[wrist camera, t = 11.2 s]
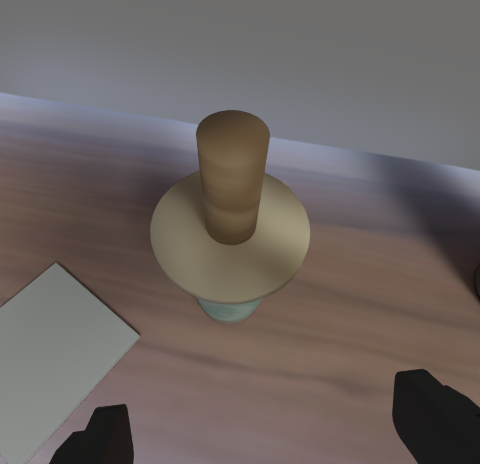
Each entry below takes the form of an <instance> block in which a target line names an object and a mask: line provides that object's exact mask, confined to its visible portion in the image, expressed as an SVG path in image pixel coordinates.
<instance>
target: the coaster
mask: <svg viewBox="0 0 480 464" xmlns="http://www.w3.org/2000/svg"><path fill="white" fill-rule="evenodd" d="M140 337H141V336H140V335H138V334H137V333H136V332H135V331H134V330H133V329H132V328H130V327H129V326H128V325H127V324H126V323H125V322H124V321H122V320H121V319H120V318H119V317H118V316H117V315H116V314H114V313H113V312H112V311H111V310H110V309H109V308H108V307H106V306H105V305H104V304H103V303H102V302H101V301H100V300H98V299H97V298H96V297H95V296H94V295H93V294H92V293H90V292H89V291H88V290H87V289H86V288H85V287H83V286H82V285H81V284H80V283H79V282H78V281H77V280H75V279H74V278H73V277H72V276H71V275H70V274H69V273H67V272H66V271H65V270H64V269H63V268H62V267H61V266H59V265H58V264H57V263H55V264H53V265H52V266H51V267H50V268H48V269H47V270H46V271H45V272H44V273H42V274H41V275H40V276H39V277H37V278H36V279H35V280H34V281H33V282H31V283H30V284H29V285H28V286H27V287H25V288H24V289H23V290H22V291H20V292H19V293H18V294H17V295H16V296H14V297H13V298H12V299H11V300H9V301H8V302H7V303H6V304H5V305H3V306H2V307H1V308H0V454H1V455H2V457H3V458H4V459H5V461H6V462H7V463H8V464H26V463H27V462H28V461H29V460H30V459H31V458H32V457H33V455H34V454H35V453H36V452H37V451H38V450H39V449H40V448H41V447H42V445H43V444H44V443H45V442H46V441H47V440H48V439H49V438H50V437H51V435H52V434H53V433H54V432H55V431H56V430H57V429H58V428H59V427H60V425H61V424H62V423H63V422H64V421H65V420H66V419H67V418H68V417H69V415H70V414H71V413H72V412H73V411H74V410H75V409H76V408H77V407H78V406H79V404H80V403H81V402H82V401H83V400H84V399H85V398H86V397H87V396H88V394H89V393H90V392H91V391H92V390H93V389H94V388H95V387H96V386H97V384H98V383H99V382H100V381H101V380H102V379H103V378H104V377H105V376H106V374H107V373H108V372H109V371H110V370H111V369H112V368H113V367H114V366H115V364H116V363H117V362H118V361H119V360H120V359H121V358H122V357H123V356H124V354H125V353H126V352H127V351H128V350H129V349H130V348H131V347H132V346H133V345H134V343H135V342H136V341H137V340H138V339H139V338H140Z"/></svg>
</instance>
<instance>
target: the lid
mask: <svg viewBox="0 0 480 464" xmlns="http://www.w3.org/2000/svg"><path fill="white" fill-rule="evenodd" d="M196 138H197V147H198V157H199V167H200V171H198V172H195V173H193V174H191V175H188V176H187V177H185V178H183V179H181V180H180V181H178V182H177V183H176V184H174V185H173V186H172V187H171V188H170V189H169V190H168V191H167V192H166V193H165V194H164V196H163V197H162V198H161V200H160V201H159V203H158V204H157V206H156V209H155V211H154V213H153V217H152V221H151V228H150V237H151V244H152V248H153V251H154V254H155V256H156V258H157V261H158V263H159V265H160V267H161V269H162V270H163V272H164V273H165V274H166V276H167V277H168V278H169V279H170V280H171V281H172V282H173V283H174V284H175V285H176V286H177V287H178V288H180V289H181V290H183V291H184V292H186V293H188V294H190V295H192V296H194V297H196V298H198V299H201V300H204V301H207V302H212V303H217V304H229V305H232V304H244V303H249V302H254V301H257V300H260V299H263V298H265V297H267V296H269V295H271V294H273V293H275V292H276V291H278V290H279V289H281V288H282V287H284V286H285V285H286V284H287V283H288V282H289V281H290V280H291V279H292V278H293V276H294V275H295V274H296V273H297V271H298V269H299V268H300V266H301V264H302V262H303V260H304V258H305V255H306V253H307V250H308V246H309V241H310V226H309V221H308V217H307V214H306V211H305V209H304V207H303V205H302V203H301V202H300V200H299V199H298V198H297V196H296V195H295V194H294V193H293V192H292V191H291V190H290V189H289V188H288V187H287V186H286V185H285V184H283V183H282V182H281V181H279V180H278V179H276V178H274V177H273V176H270V175H268V174H266V173H264V171H265V165H266V158H267V152H268V145H269V139H270V133H269V129H268V127H267V126H266V124H265V123H264V122H263V121H262V120H260V119H259V118H258V117H256V116H255V115H252V114H250V113H247V112H243V111H236V110H227V111H220V112H217V113H214V114H211V115H209V116H208V117H206V118H205V119H204V120H202V122H201V123H200V124H199V126H198V128H197V131H196Z"/></svg>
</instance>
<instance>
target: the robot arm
mask: <svg viewBox="0 0 480 464" xmlns="http://www.w3.org/2000/svg"><path fill="white" fill-rule="evenodd" d="M475 284H476V289H477V292H478V294H479V297H480V266H479V267H478V268H477V271H476V274H475ZM392 417H393V422H394V426H395V429H396V431H397V433H398V435H399V437H400V438H401V440H402V441H403V443H404V444H405V446H406V447H407V448H408V450H409V451H410V453H411V454H412V455H413V457H414V458H415V460H416V461H417V462H418V464H480V408H479V407H478V406H477V405H476V404H475V403H474V402H473V401H471V400H470V399H469V398H468V397H466V396H465V395H463V394H461V393H459V392H458V391H456V390H454V389H452V388H451V387H449V386H447V385H445V386H443V385H442V384H441V383H440V382H439V381H438V380H436V379H435V378H434V377H433V376H432V375H431V374H430V373H429V372H428V371H426V370H424V369H417V370H408V371H400V372H397V373H396V375H395V383H394V397H393V410H392ZM133 460H134V450H133V442H132V436H131V429H130V422H129V416H128V410H127V406H126V405H125V404H120V405H112V406H104V407H97V408H96V409H95V410H94V412H93V414H92V416H91V418H90V421H89V423H88V425H87V427H86V429H85V431H77V432H73V433H72V434H71V435H70V436H69V437H68V438H67V440H66V441H65V442H64V443H63V444H62V445H61V446H60V447H59V448H58V449H57V450H56V451H55V453H54V455H53V457H52V459H51V461H50V463H49V464H133Z"/></svg>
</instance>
